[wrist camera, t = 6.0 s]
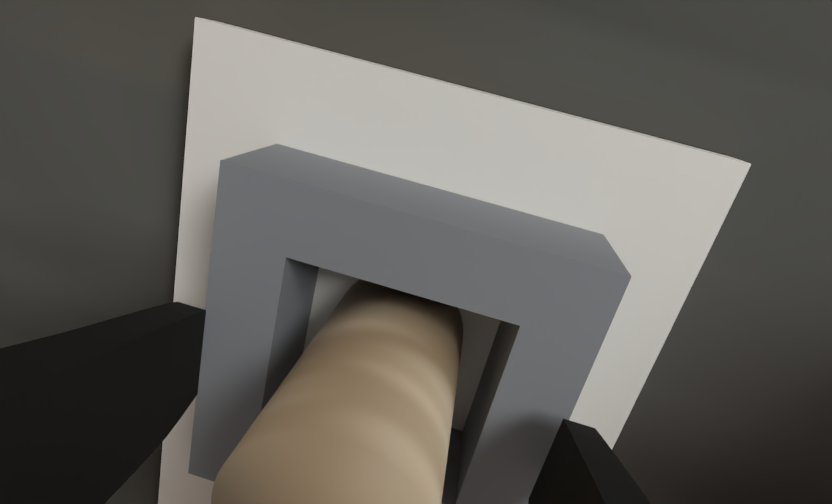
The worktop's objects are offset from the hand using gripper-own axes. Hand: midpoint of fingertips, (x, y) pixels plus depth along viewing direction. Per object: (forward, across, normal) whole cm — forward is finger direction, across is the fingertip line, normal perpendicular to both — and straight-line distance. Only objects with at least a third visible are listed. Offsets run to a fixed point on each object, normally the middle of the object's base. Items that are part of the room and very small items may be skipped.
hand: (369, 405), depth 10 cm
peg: (+3, 0, 0) cm, 3 cm away
